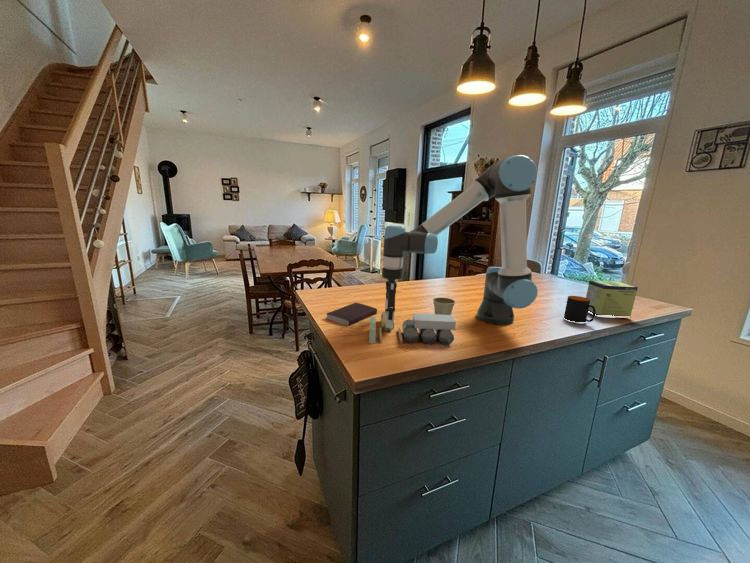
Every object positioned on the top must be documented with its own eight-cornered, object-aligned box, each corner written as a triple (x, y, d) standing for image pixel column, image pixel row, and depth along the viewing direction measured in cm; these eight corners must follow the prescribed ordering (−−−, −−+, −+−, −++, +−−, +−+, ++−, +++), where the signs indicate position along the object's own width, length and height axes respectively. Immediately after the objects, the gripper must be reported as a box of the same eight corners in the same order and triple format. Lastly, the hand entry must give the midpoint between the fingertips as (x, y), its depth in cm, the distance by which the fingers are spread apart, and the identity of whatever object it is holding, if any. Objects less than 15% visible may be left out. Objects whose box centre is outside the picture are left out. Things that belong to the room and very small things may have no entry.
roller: (383, 323, 124) (379, 313, 122) (394, 320, 123) (390, 309, 122) (383, 333, 114) (379, 322, 113) (395, 329, 113) (391, 318, 112)
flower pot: (426, 319, 128) (428, 300, 126) (438, 314, 135) (440, 296, 133) (446, 325, 122) (448, 305, 120) (457, 320, 129) (459, 300, 127)
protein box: (630, 319, 139) (638, 286, 136) (597, 317, 139) (604, 285, 136) (613, 312, 150) (620, 281, 146) (582, 310, 150) (588, 280, 146)
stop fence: (375, 329, 115) (375, 317, 113) (375, 343, 103) (375, 329, 102) (369, 329, 115) (370, 317, 113) (369, 343, 103) (369, 329, 102)
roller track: (446, 333, 114) (447, 320, 113) (453, 345, 103) (455, 332, 102) (379, 330, 114) (379, 318, 113) (379, 342, 103) (380, 329, 102)
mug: (585, 328, 126) (590, 304, 123) (559, 318, 137) (563, 296, 134) (598, 326, 129) (603, 302, 126) (572, 316, 140) (576, 295, 137)
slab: (450, 322, 111) (450, 315, 110) (455, 330, 104) (455, 321, 104) (412, 321, 111) (412, 313, 110) (414, 328, 104) (415, 320, 104)
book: (377, 314, 132) (377, 307, 132) (349, 327, 117) (349, 319, 116) (355, 308, 139) (355, 302, 139) (325, 320, 124) (325, 312, 123)
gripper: (381, 261, 125) (378, 310, 130) (383, 273, 101) (379, 332, 106) (399, 262, 125) (396, 310, 130) (405, 275, 101) (400, 334, 106)
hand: (388, 320), depth 118 cm, fingers open, 13 cm apart
